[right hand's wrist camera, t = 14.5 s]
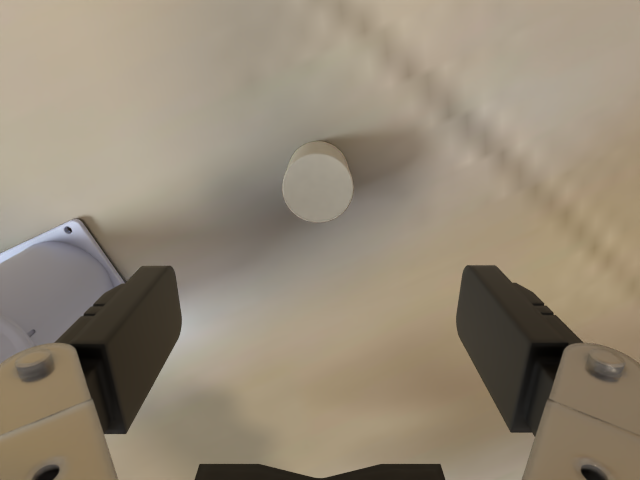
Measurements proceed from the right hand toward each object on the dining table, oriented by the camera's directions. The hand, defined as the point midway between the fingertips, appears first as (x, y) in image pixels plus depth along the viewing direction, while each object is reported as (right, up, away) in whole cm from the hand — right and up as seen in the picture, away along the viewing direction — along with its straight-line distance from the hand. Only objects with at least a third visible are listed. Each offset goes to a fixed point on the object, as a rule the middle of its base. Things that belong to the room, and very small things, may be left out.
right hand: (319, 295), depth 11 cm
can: (0, +6, +16) cm, 17 cm away
